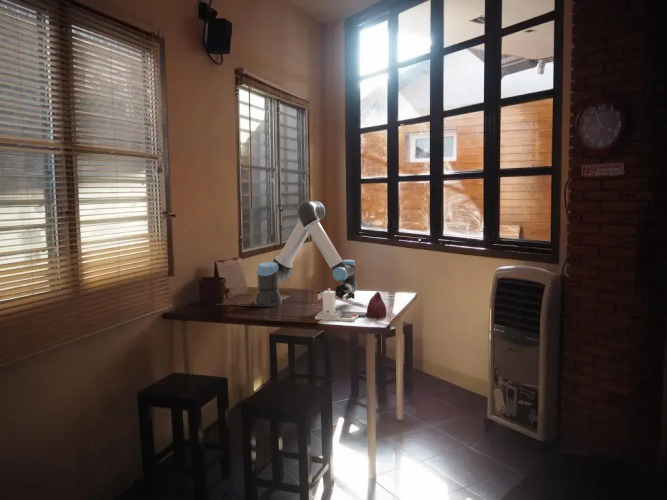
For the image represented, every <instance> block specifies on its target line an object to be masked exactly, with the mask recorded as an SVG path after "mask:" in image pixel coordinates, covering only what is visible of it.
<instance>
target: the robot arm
mask: <svg viewBox="0 0 667 500" xmlns="http://www.w3.org/2000/svg"><path fill="white" fill-rule="evenodd" d="M296 213H297V214H296V215H297V224H296V225H295V227H294V229H293V231H292V233H291V234H290V235H289V238H288V239H287V241H286V243H285V245H284V247H283V248H282V250H281V252H280V253H279V255H276V256H275V257H274V259H273V261H267V262H262V263H260V264H258V266H257V270H256V271H257V294H256V296H255V298H254V299H255V300H254V305H255V306H256V307H260V308H273V307H279V306H281V305H282V304H283V299H282V297H281V294H280V290H279V283H282V282H286V281H287V279H289V277H290V276H291V273H292V269H293V266H294V265H293V262H294V260H295V259H296V256H297V255H298V253H299V251H300V250H301V248H302V247H303V244H304V243H305V242H306V239H307V237H308V235H309V234H310V236H311V238H312V239H313V241H314V243H315V244H316V246H317V248H318V250H319V251H320V253H321V254H322V256H323V257H324V259H325V261H326V262H327V265H328V266H329V268H330V269H331V270H332V277H333V279H334V280H335V281H337V282H341V283H340V284H338V285H337V286H336V287H335V289H331V288H330V291H335V297H337V298H339V299H342V302H345V301H348V300H351V299H353V300H355V296H356V295H355V292H356V291H357V289H358V284H357V282H356V261H355V260H354V259H342V258H341V256H340V254H339V253H338V251H337V249H336V248H335V246H334V244H333V243H332V241H331V239H330V237H329V236H328V234H327V233H326V231H325V229H324V228H323V226H322V224H321V222H320V221H322V220H323V219H324V217H325V216H326V207H325V206H324V204H323V203H322V202H320V201H318V200H305V201H302V202H300V204H299V205H298V207H297V210H296ZM325 291H328V289H325V290H320V291H317V300H321V299H323V292H325Z"/></svg>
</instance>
